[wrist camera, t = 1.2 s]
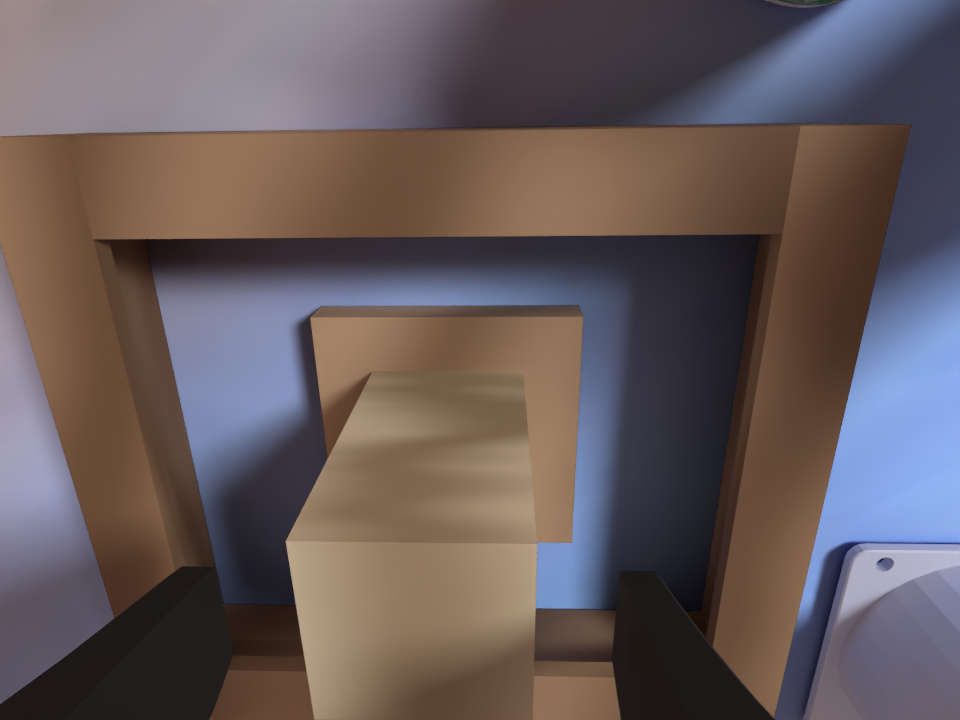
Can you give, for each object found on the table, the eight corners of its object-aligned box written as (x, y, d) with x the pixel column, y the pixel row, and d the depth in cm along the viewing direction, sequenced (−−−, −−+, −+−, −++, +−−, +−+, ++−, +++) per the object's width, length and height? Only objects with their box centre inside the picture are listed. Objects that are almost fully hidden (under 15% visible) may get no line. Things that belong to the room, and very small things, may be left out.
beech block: (523, 371, 16) (537, 544, 10) (521, 499, 18) (532, 724, 11) (372, 371, 16) (285, 541, 10) (383, 498, 18) (313, 720, 11)
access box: (819, 122, 15) (911, 124, 11) (727, 634, 20) (770, 732, 17) (82, 133, 15) (-32, 137, 12) (200, 626, 21) (145, 719, 18)
